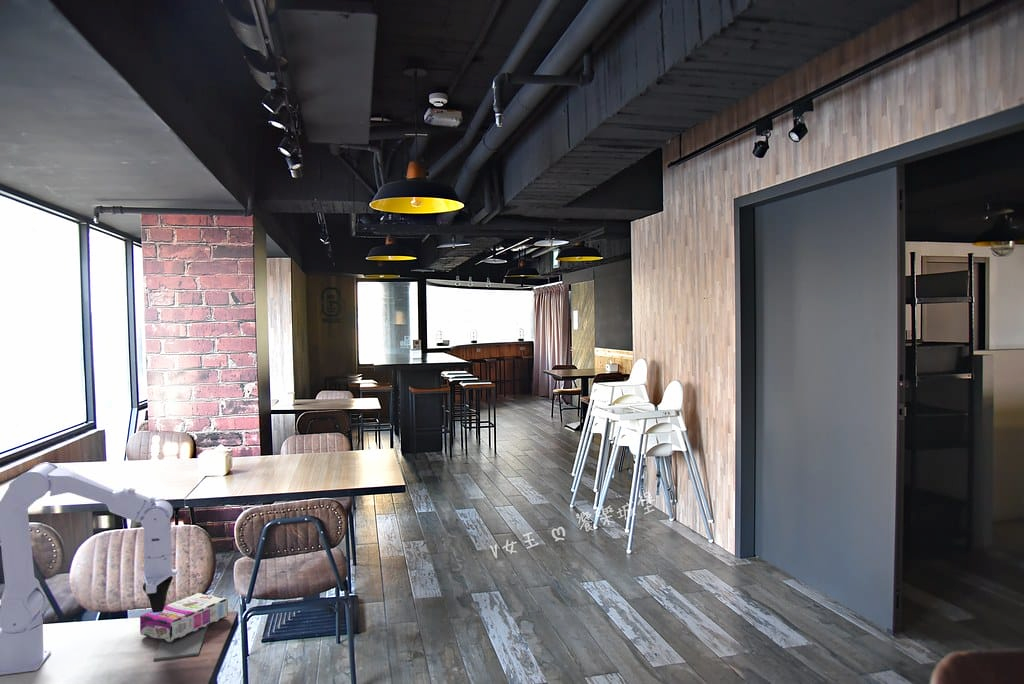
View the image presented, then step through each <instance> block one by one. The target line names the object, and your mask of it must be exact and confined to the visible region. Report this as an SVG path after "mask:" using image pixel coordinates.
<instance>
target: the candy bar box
mask: <svg viewBox="0 0 1024 684" xmlns="http://www.w3.org/2000/svg"><path fill="white" fill-rule="evenodd" d="M228 605H229V604H228V598H226V597H223V596H216V595H211V594H205V593H202V592H201V593H200V592H196V593H194V594H191V595H189V596H186V597H184V598H182V599H179V600H176V601H174V602H171V603H168V604H167V605H166V604H165V607H164V610H163V611H162V612H155V613H153V611H152V610H151V611H148V612H145V613H143V614H141V615H139V622H140V623H139V624H140V625H139V629H140V630H139V632H140V635H141V636H146V637H149V638H152V639H153V638H154V639H156V640H161V641H162V640H164V641H167V642H173V641H175V640H177V639H179V638H181V637H184V636H186V635H188V634H190V633H192V632H195V631H197V630H199V629H201V628H204V627H206V626H208V627H209V625H212V624H214V623H216V622H220V621H221V620H223V619H225V618H228V617H229V612H228V608H229V607H228ZM225 615H227V616H225Z"/></svg>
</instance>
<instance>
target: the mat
mask: <svg viewBox="0 0 1024 684" xmlns="http://www.w3.org/2000/svg"><path fill="white" fill-rule="evenodd" d="M207 627H209V625H208V626H206V627H204V628H201V629H199V630H197V631H195V632H192V633H190V634H188V635H186V636H184V637H181V638H179V639H177V640H175V641H173V642H167V641H164V640H161V641H160V643H159V646H158V648H157V650H156V652H155V654H154V655H153V656H154V657H153V661H163V660H172V659H178V658H186V656H187V657H193V656H194V655H195V656H199V655H200V651H201V649H200V648H202V646H201V645H203V643H204V640H203V639H205V637H204V636H206V634H205V633H207V631H208V628H207ZM206 630H207V631H206Z"/></svg>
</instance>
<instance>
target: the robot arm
mask: <svg viewBox="0 0 1024 684" xmlns="http://www.w3.org/2000/svg"><path fill="white" fill-rule="evenodd" d="M48 492H49V496H50V497H54V496H58V495H59V496H60V495H63V494H68V493H69V494H73V495H76V496H79V497H82V498H86V499H89V500H92V501H95V502H99V503H101V504H103V505H104V504H105V505H106V507H107V509H108V511H109V512H110V513H112V514H114V515H117V516H121V517H123V518H125V519H128V520H130V521H133V522H135V523H140V525H141V527H142V528H143V530H144V532H143V533H144V534H143V574H142V579H143V581H144V583H143V585H142V589H143V592H145V595H146V596H147V597H148V601H149V605H150V608H151V611H153V613H155V612H162V611H163V610H164V607H165V606H166V601H167V597H168V593H169V592H168V591H169V588H170V586H171V583H172V581H173V580H174V576H176V575H178V569H177V568H174V569H173V567H172V566H173V565H172V563H173V562H172V561H173V560H172V559H173V558H172V556H173V555H172V554H173V552H172V550H173V549H172V548H173V547H172V544H173V543H172V540H173V539H172V538H173V537H172V536H173V535H172V531H171V529H172V525H171V524H172V523H171V518H172V517H173V515H174V514H173V512H174V508H173V505H172V504H171V503H170V502H169V501H167V500H166V499H164V498H156V497H154V496H151V497H149V496H145V495H143V494H140V493H138V492H136V489H135V488H133V487H129V488H128V489H127V488H123V487H122V488H120V489H116V490H114V489H112V488H110V487H108V486H106V485H104V484H101V483H98V482H97V481H94V480H91V479H89V478H88V477H85V476H83V475H81V474H79V473H75V472H73V471H72V470H70V469H69V468H67V467H64V466H58V465H56V464H54V463H52V462H41V463H38V464H36V465H34V466H33V467H32V468H31V469H29V470H28V471H26V472H23V473H21V474H20V475H19V476H18V477H16V478H15V479H14V480H12V481H11V482H10V483H9V485H8V488H7V490H5V493H4V494H3V496H2V498H1V500H0V548H1V559H2V560H1V561H2V569H3V577H4V579H3V581H4V590H3V593H2V596H1V598H0V676H2V675H10V674H12V675H13V674H19V673H28V672H35V671H38V670H39V669H40V667H41V666H42V665H43V663H45V661H46V660H47V659H48V657H49V655H50V654H51V652H52V651H51V649H50V650H44V625H43V623H44V618H43V616H42V614H41V610H42V609H43V608H44V606H45V604H46V602H47V597H46V594H45V593H44V590H42V588H41V586H40V580H38V579H37V578H36V576H35V570H34V569H35V568H34V559H33V551H32V548H33V547H32V539H31V530H30V520H29V519H30V518H29V511H28V510H29V508H30V507H31V506H32V505H33V504H34V503H35V502H36V501H38V500H40V499H41V498H43V497H44V496H45V495H46V494H47V493H48Z"/></svg>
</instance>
